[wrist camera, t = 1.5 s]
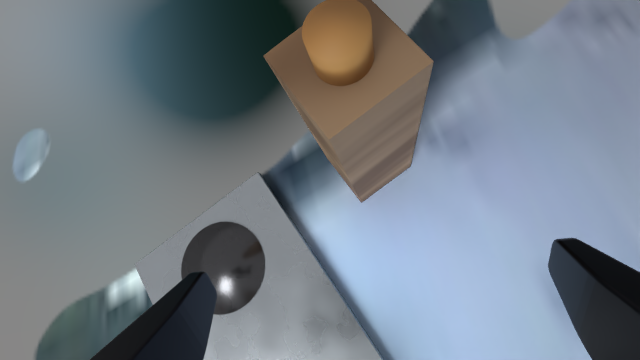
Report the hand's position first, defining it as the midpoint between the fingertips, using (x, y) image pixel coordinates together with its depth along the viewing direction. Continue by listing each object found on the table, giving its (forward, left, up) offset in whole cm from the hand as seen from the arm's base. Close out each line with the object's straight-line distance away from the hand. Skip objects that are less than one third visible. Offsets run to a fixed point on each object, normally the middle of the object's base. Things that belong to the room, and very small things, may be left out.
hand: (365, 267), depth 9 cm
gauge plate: (-1, +9, -12) cm, 15 cm away
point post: (+6, -3, -12) cm, 14 cm away
